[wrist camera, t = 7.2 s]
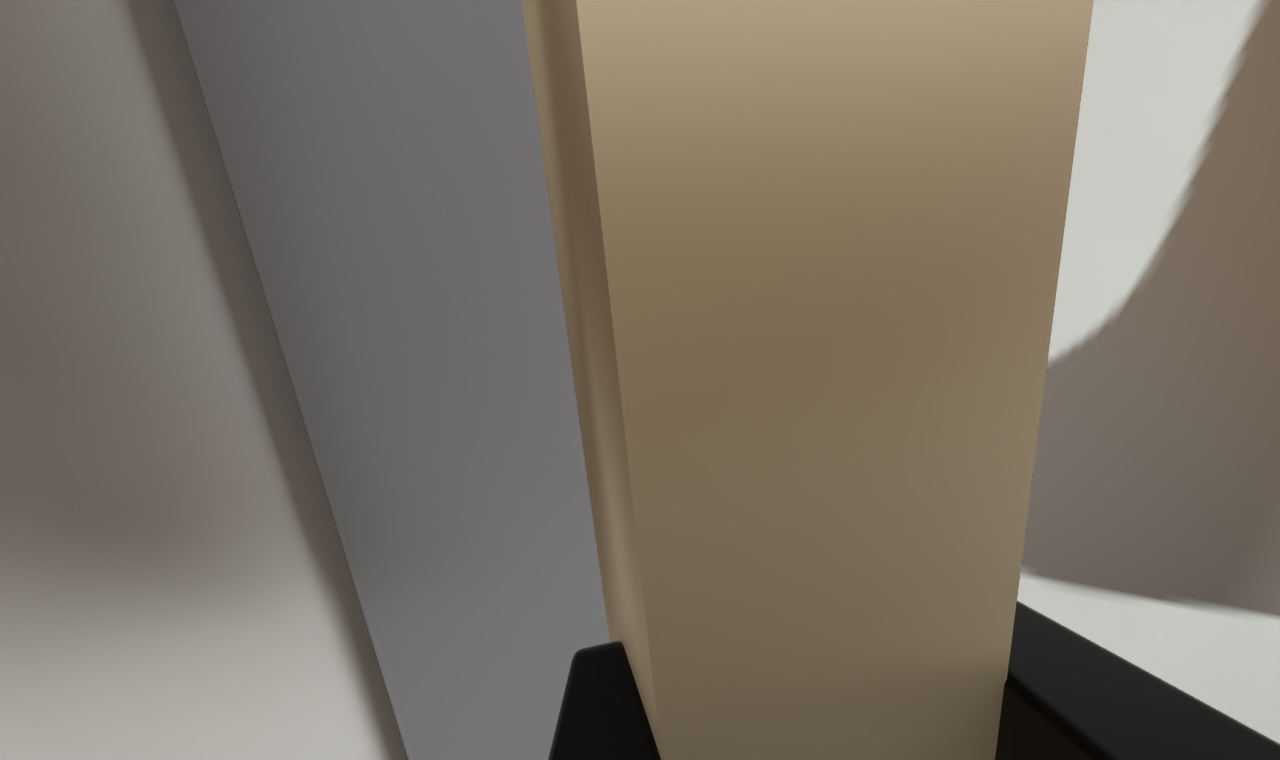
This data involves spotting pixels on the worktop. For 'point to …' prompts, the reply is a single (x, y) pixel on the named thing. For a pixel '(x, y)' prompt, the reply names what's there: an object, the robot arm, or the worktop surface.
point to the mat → (420, 339)
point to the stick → (810, 349)
